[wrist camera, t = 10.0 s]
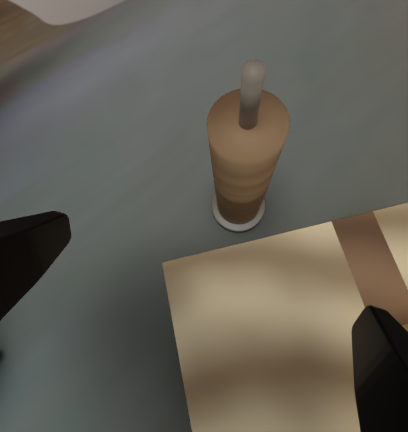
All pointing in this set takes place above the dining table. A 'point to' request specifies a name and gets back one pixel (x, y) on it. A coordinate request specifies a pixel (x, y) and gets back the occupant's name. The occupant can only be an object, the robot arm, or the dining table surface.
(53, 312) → the dining table surface
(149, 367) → the dining table surface
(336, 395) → the panel
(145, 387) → the dining table surface
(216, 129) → the awl
